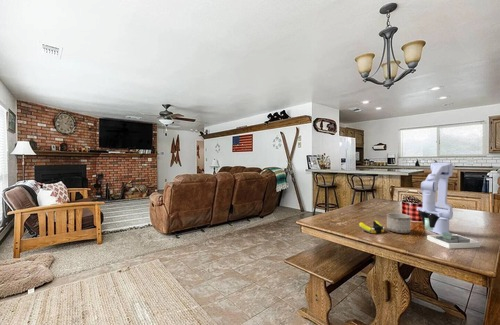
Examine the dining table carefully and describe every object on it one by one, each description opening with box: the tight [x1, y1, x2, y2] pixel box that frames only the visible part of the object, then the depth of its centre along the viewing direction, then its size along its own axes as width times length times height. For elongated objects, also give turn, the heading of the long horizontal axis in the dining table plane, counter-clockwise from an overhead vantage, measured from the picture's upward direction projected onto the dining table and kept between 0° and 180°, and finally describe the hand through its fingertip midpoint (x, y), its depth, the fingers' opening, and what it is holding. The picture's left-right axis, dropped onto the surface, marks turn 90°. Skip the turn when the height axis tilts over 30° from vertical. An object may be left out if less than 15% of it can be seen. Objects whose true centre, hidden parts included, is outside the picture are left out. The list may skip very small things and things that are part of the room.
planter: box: [386, 212, 411, 234], centre depth 145 cm, size 13×13×10 cm
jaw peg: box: [424, 218, 433, 231], centre depth 126 cm, size 4×4×6 cm
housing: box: [426, 232, 482, 250], centre depth 124 cm, size 18×13×6 cm
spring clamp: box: [358, 220, 386, 234], centre depth 146 cm, size 15×6×10 cm
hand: (428, 226), depth 127 cm, fingers closed on jaw peg, 4 cm apart
